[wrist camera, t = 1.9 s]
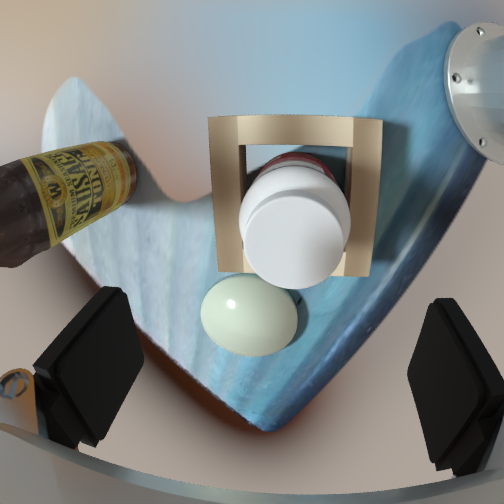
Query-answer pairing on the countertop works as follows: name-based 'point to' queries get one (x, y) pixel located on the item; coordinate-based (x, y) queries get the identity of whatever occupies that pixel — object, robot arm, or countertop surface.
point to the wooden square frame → (295, 133)
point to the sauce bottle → (59, 196)
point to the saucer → (249, 315)
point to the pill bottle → (294, 222)
